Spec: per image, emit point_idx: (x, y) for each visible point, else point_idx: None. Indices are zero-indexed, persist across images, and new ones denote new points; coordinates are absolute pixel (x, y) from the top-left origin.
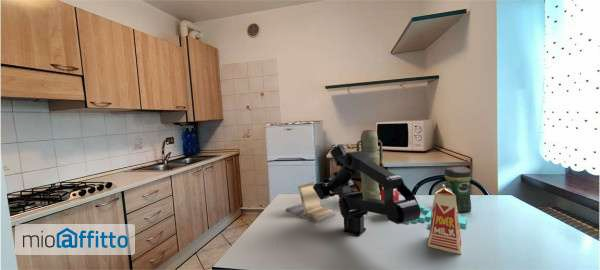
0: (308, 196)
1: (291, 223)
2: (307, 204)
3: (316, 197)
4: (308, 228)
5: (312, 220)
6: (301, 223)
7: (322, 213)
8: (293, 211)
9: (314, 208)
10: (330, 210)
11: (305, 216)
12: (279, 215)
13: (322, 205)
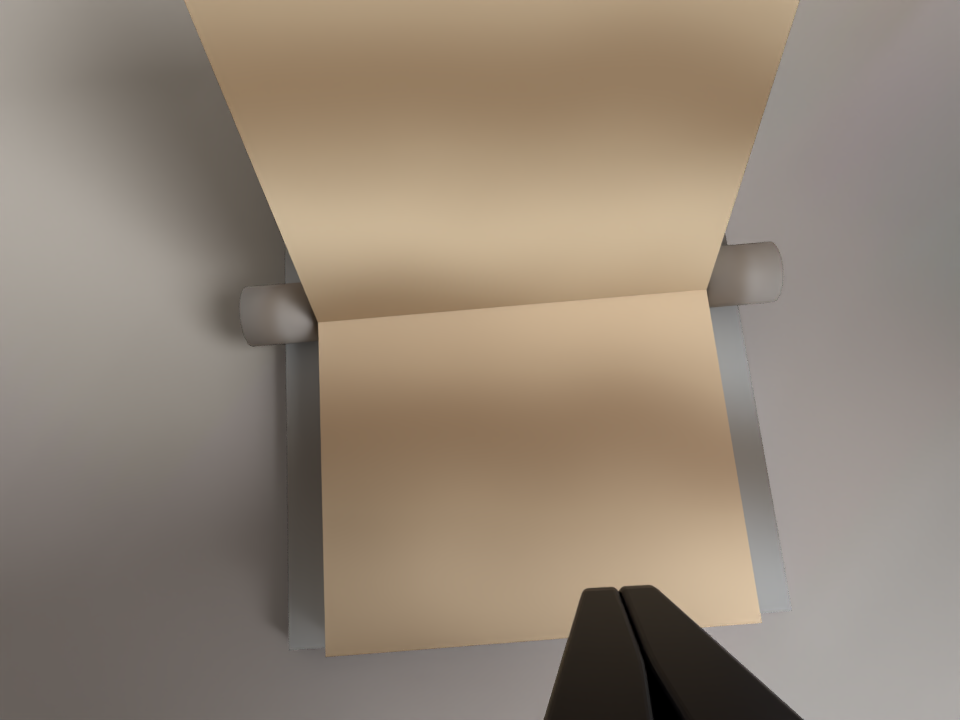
0: (420, 77)
1: (21, 369)
2: (353, 227)
3: (687, 131)
4: (64, 713)
5: (291, 541)
6: (123, 474)
7: (490, 592)
8: None
9: (526, 297)
10: (729, 580)
11: (295, 351)
12: (102, 25)
13: (775, 254)
